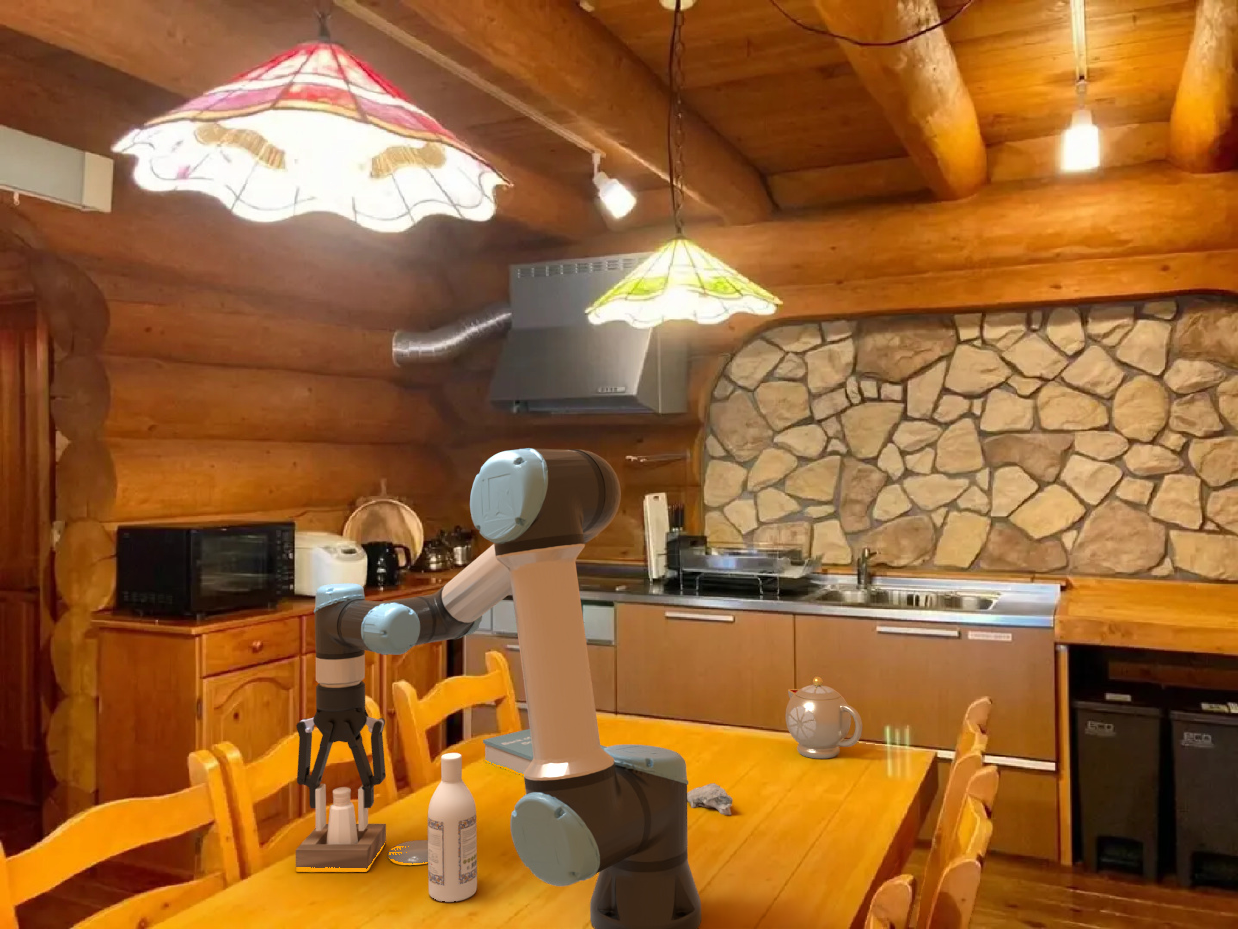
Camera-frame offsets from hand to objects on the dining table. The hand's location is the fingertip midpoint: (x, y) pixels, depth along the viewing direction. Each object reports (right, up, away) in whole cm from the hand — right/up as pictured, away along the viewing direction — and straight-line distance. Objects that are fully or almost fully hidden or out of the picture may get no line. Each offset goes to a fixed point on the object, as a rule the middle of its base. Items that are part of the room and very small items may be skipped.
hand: (342, 827), depth 157 cm
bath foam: (+20, -5, -13) cm, 24 cm away
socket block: (0, -5, 0) cm, 5 cm away
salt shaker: (0, -5, 0) cm, 5 cm away
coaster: (+12, -5, +1) cm, 13 cm away
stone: (+60, -5, +23) cm, 64 cm away
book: (+29, -5, +48) cm, 56 cm away
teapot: (+87, -4, +52) cm, 102 cm away
